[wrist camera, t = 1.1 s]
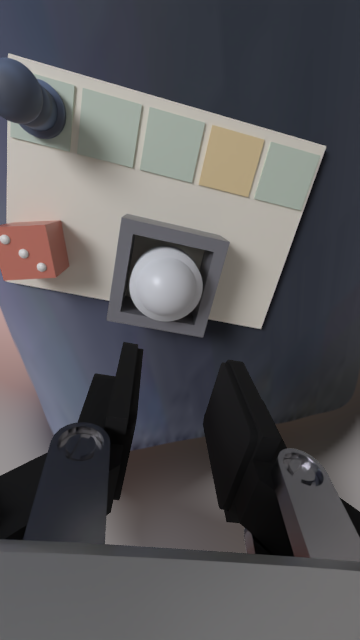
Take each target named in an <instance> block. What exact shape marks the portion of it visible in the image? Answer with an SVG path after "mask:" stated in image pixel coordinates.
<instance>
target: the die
mask: <svg viewBox="0 0 360 640" xmlns="http://www.w3.org/2000/svg"><path fill="white" fill-rule="evenodd" d="M68 267H69V260H68V255H67V250H66V244H65V239H64V233H63V228H62V222H61V220H55V221H33V222H13V223H8V224H3V225H0V268H1V272H2V275H3V279H4V281H5V280H24V279H42V278H56V277H57V276H59V275H60V274H61V273H62V272H63V271H65V270H66V269H67V268H68Z"/></svg>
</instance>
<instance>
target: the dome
mask: <svg viewBox="0 0 360 640" xmlns="http://www.w3.org/2000/svg"><path fill="white" fill-rule="evenodd" d="M129 290H130V295H131V298H132V301H133V303H134V304H135V306H136V307H137V308H138V310H139V311H140V312H142V313H143V314H144V315H146V316H147V317H149V318H151V319H154V320H157V321H174V320H178V319H181V318H183V317H185V316H186V315H188V314H189V313H190V312H191V311H193V309H194V308H195V307H196V306H197V304H198V302H199V300H200V298H201V295H202V290H203V283H202V277H201V274H200V272H199V270H198V268H197V266H196V264H195V262H194V261H193V259H192V258H191V257H190V256H189V255H188V254H187V253H186V252H185V251H183V250H181V249H179V248H177V247H173V246H157V247H154V248H151V249H149V250H148V251H146V252H145V253H143V254H142V255H141V256H140V257H139V259H138V260H137V262H136V263H135V265H134V268H133V271H132V274H131V278H130V283H129Z"/></svg>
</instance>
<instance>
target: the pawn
mask: <svg viewBox="0 0 360 640" xmlns="http://www.w3.org/2000/svg"><path fill="white" fill-rule="evenodd" d="M0 116H2V117H3V118H5V119H6V120H8V121H10V122H13V123H17V124H19V125H20V126H21V127H22V128H23V129H24V130H25V131H26V132H28V133H29V134H31V135H33V136H35V137H37V138H40V139H51V138H54V137H56V136H58V135H59V134H60V133H61V132H62V130H63V129H64V126H65V123H66V108H65V105H64V102H63V100H62V98H61V97H60V95H59V94H58V93H57V92H56V90H55V89H54V88H53V87H51V86H50V85H49V84H48V83H46V82H45V81H43V80H40V79H36V77H35V76H34V74H33V73H32V72H31V71H30V70H29V69H28V68H27V67H26V66H25V65H23V64H22V63H21V62H19V61H17V60H14V59H11V58H0Z"/></svg>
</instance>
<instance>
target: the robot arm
mask: <svg viewBox="0 0 360 640" xmlns="http://www.w3.org/2000/svg"><path fill="white" fill-rule="evenodd" d="M142 357H143V349H138V344H132V343H126V342H123V347H122V351H121V355H120V360H119V364H118V368H117V373H116V377H115V376H109V375H102V374H95V375H94V377H93V380H92V383H91V386H90V388H89V391H88V394H87V397H86V400H85V403H84V406H83V409H82V411H81V414H80V417H79V420H78V423H73V424H69V425H67V426H65V427H63V428H61V429H60V430H59V431H58V432H57V433H56V434H55V435H54V436H53V438H52V440H51V443H50V447H49V450H48V453H46V454H44V455H42V456H40V457H38V458H35V459H34V460H31V461H29V462H27V463H26V464H23V465H21V466H19V467H17V468H15V469H13V470H11V471H9V472H7V473H5V474H3V475H1V476H0V640H360V512H359V511H358V510H357V509H355V508H354V507H352V506H351V505H349V504H348V503H346V502H345V501H344V500H342V499H341V498H340V497H339V496H338V494H337V492H336V490H335V488H334V486H333V484H332V482H331V480H330V478H329V476H328V474H327V472H326V470H325V469H324V467H323V466H322V465H321V464H320V463H319V462H318V461H317V460H316V459H314V458H313V457H312V456H310V455H309V454H307V453H305V452H303V451H300V450H297V449H290V448H287V447H286V445H285V444H284V441H283V439H282V438H281V435H280V434H279V432H278V429H277V428H276V425H275V423H274V421H273V420H272V418H271V416H270V414H269V412H268V410H267V408H266V406H265V404H264V402H263V400H262V399H261V397H260V395H259V393H258V391H257V389H256V387H255V385H254V383H253V381H252V379H251V377H250V375H249V373H248V371H247V369H246V367H245V365H244V363H243V362H239V361H233V360H227V362H226V363H222V364H221V366H220V369H219V372H218V375H217V379H216V382H215V385H214V388H213V391H212V394H211V397H210V400H209V404H208V407H207V410H206V413H205V416H204V421H203V427H204V433H205V438H206V443H207V448H208V453H209V458H210V464H211V469H212V474H213V479H214V484H215V489H216V494H217V499H218V504H219V508H220V509H223V510H224V512H225V516H226V521H227V522H233V523H240V524H241V525H242V526H244V527H245V529H244V539H245V545H246V551H247V553H232V552H217V551H202V550H188V549H187V550H186V549H172V548H155V547H140V546H124V545H108V544H105V530H106V515H108V514H109V513H110V512H111V508H112V503H113V500H119V499H120V495H121V490H122V485H123V481H124V476H125V472H126V467H127V462H128V458H129V453H130V449H131V444H132V439H133V435H134V430H135V425H136V419H137V410H138V399H139V389H140V378H141V367H142Z"/></svg>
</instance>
